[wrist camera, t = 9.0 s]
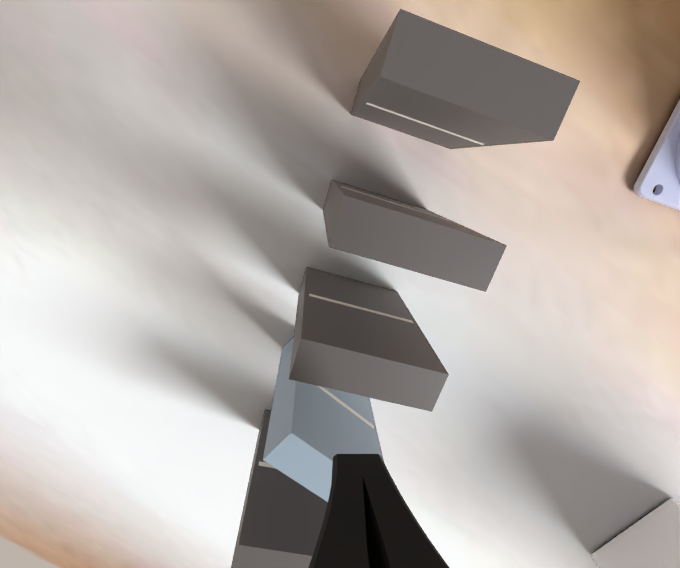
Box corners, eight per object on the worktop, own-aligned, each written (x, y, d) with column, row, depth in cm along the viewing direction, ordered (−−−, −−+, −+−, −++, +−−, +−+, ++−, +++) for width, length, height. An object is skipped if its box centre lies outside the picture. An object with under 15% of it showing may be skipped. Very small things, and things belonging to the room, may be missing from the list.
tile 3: (306, 266, 19) (301, 337, 11) (397, 291, 20) (448, 373, 12) (298, 293, 19) (288, 379, 12) (387, 316, 20) (431, 411, 13)
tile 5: (265, 409, 21) (238, 544, 14) (346, 426, 22) (363, 563, 15) (259, 430, 22) (230, 572, 14) (339, 446, 23) (351, 589, 15)
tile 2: (331, 179, 18) (344, 194, 10) (427, 209, 18) (506, 245, 11) (322, 210, 18) (328, 247, 10) (416, 238, 19) (485, 292, 11)
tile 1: (360, 78, 16) (400, 7, 9) (462, 115, 17) (580, 80, 10) (350, 114, 17) (379, 77, 9) (450, 149, 18) (553, 141, 10)
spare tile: (300, 329, 20) (291, 432, 12) (365, 381, 21) (393, 503, 14) (281, 348, 20) (262, 460, 13) (347, 398, 22) (364, 526, 14)
